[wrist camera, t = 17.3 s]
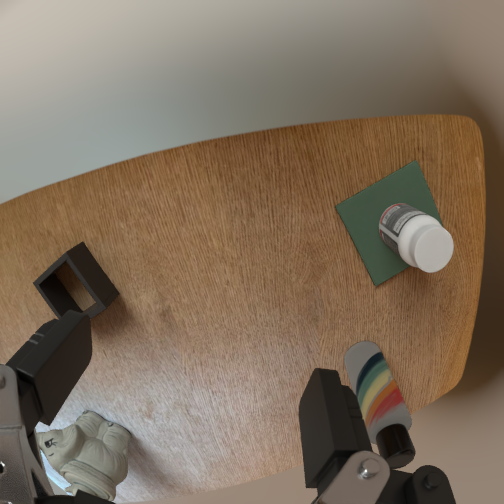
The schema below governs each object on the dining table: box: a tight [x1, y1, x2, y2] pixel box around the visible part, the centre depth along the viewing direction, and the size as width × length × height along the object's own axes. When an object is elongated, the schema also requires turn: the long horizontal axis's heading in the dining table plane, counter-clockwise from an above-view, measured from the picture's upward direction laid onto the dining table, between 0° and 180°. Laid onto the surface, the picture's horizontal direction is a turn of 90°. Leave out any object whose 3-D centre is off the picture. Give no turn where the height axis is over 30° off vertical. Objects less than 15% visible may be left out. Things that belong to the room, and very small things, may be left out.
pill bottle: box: [379, 203, 453, 273], centre depth 32 cm, size 6×6×10 cm
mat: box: [335, 160, 444, 286], centre depth 37 cm, size 12×12×1 cm
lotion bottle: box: [345, 341, 415, 469], centre depth 35 cm, size 6×6×20 cm
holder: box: [33, 242, 119, 319], centre depth 40 cm, size 9×9×4 cm
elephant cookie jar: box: [37, 410, 131, 501], centre depth 44 cm, size 16×15×19 cm
